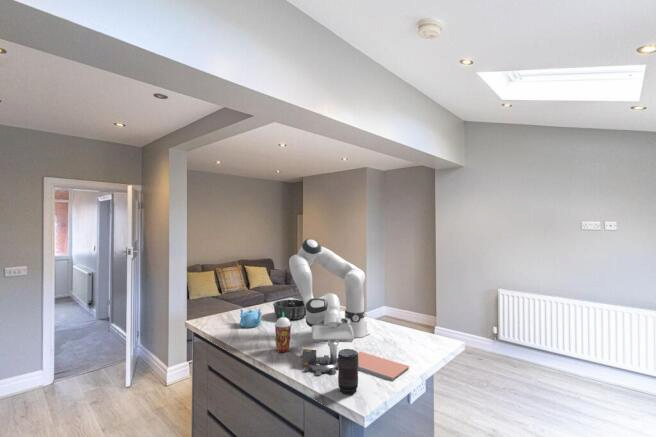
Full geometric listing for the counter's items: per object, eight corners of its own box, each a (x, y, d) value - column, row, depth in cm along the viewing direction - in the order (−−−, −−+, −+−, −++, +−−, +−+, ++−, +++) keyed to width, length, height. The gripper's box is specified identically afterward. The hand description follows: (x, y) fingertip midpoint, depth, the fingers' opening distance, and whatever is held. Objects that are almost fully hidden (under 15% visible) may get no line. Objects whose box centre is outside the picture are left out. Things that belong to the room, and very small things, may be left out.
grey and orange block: (303, 359, 154) (304, 348, 154) (316, 360, 153) (316, 350, 153) (302, 362, 151) (302, 351, 151) (314, 363, 150) (314, 352, 150)
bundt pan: (296, 310, 253) (296, 297, 253) (317, 317, 232) (317, 303, 233) (266, 315, 236) (266, 302, 236) (285, 324, 216) (286, 309, 216)
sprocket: (308, 356, 161) (308, 335, 162) (345, 359, 158) (345, 338, 158) (298, 372, 143) (298, 348, 143) (339, 376, 140) (339, 352, 140)
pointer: (301, 358, 160) (301, 355, 160) (304, 357, 161) (304, 354, 161) (306, 360, 157) (306, 357, 157) (309, 359, 158) (309, 356, 158)
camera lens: (333, 389, 130) (334, 351, 130) (349, 383, 134) (349, 347, 135) (346, 398, 123) (346, 357, 123) (362, 392, 128) (362, 353, 128)
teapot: (237, 329, 203) (238, 313, 204) (239, 322, 218) (239, 307, 218) (261, 328, 207) (262, 312, 207) (261, 321, 221) (261, 306, 221)
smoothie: (273, 348, 172) (273, 310, 172) (288, 347, 175) (289, 309, 175) (276, 354, 164) (277, 314, 164) (292, 352, 167) (293, 313, 167)
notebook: (340, 365, 153) (340, 360, 154) (360, 354, 167) (360, 350, 167) (392, 383, 136) (392, 378, 136) (409, 370, 149) (409, 365, 149)
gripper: (311, 320, 161) (311, 347, 151) (352, 320, 162) (355, 347, 152) (311, 326, 165) (311, 353, 155) (351, 326, 166) (354, 353, 156)
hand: (333, 350), depth 154 cm, fingers closed, pressing on sprocket
